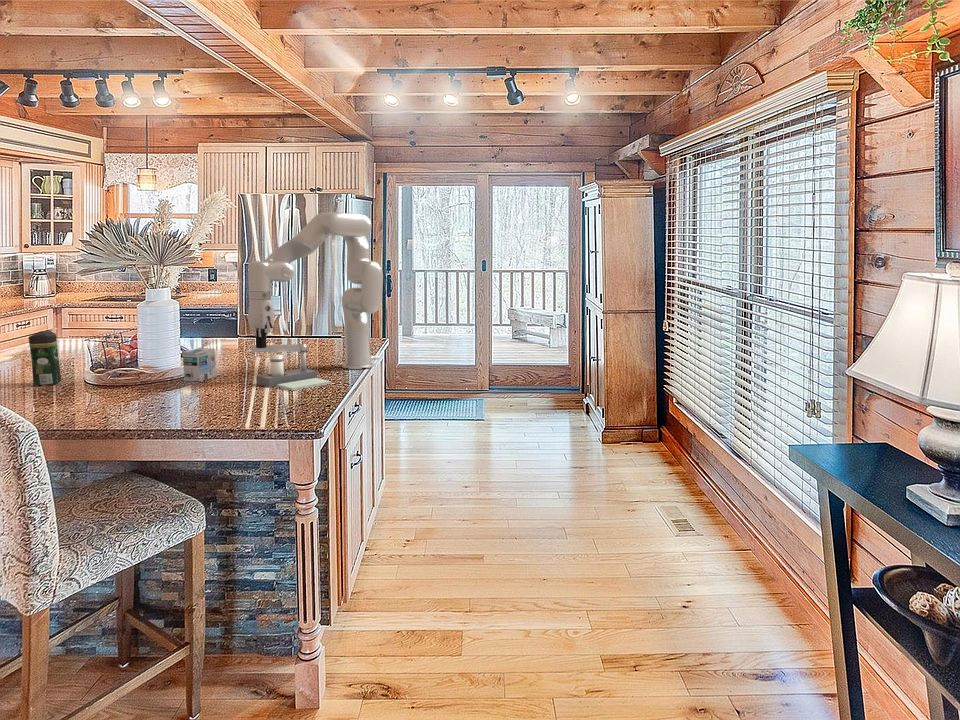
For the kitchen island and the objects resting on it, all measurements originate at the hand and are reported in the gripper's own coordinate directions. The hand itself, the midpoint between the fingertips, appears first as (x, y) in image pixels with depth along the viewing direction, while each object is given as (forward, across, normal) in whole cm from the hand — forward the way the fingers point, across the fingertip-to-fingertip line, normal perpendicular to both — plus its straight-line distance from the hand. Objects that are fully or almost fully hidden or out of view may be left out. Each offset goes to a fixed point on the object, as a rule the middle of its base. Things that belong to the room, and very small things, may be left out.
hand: (261, 347), depth 257 cm
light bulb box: (+13, +20, +12) cm, 27 cm away
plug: (+12, -7, -2) cm, 14 cm away
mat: (+12, -17, -6) cm, 22 cm away
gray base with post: (+12, -7, -6) cm, 15 cm away
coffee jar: (+14, +51, +53) cm, 75 cm away
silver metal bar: (+2, -2, -6) cm, 7 cm away
